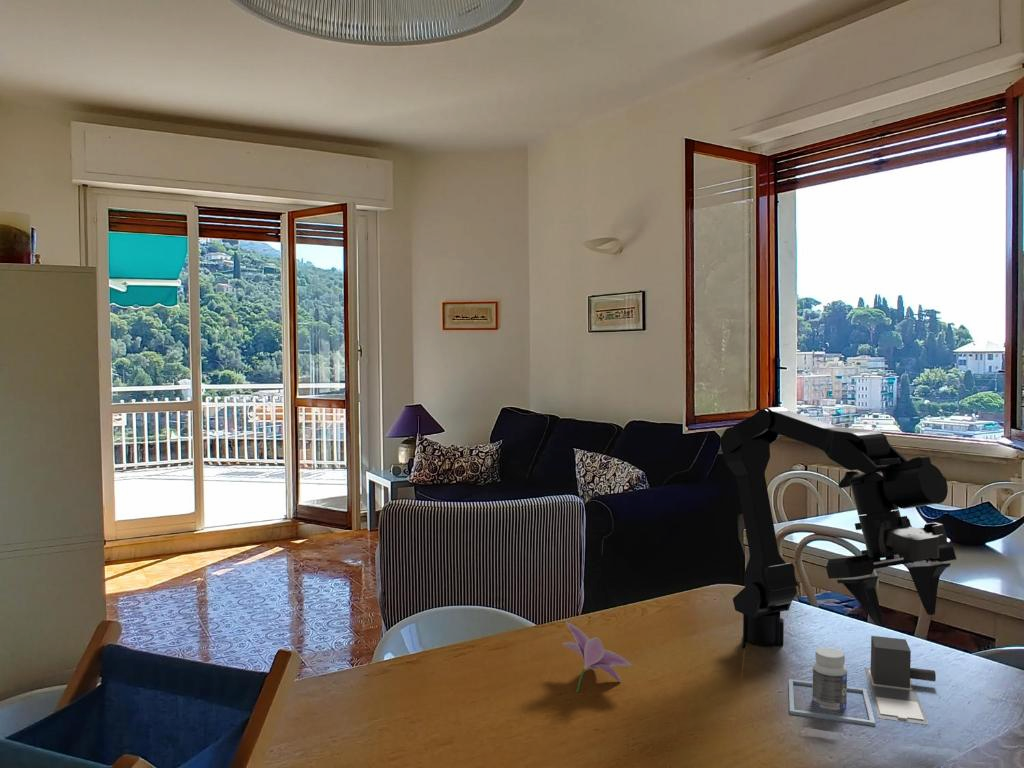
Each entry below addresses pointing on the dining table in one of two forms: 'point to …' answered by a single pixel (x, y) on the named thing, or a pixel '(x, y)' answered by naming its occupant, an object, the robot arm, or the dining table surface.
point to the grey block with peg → (894, 663)
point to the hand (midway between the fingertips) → (905, 619)
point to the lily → (594, 653)
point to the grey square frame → (827, 716)
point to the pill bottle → (829, 679)
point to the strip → (896, 702)
